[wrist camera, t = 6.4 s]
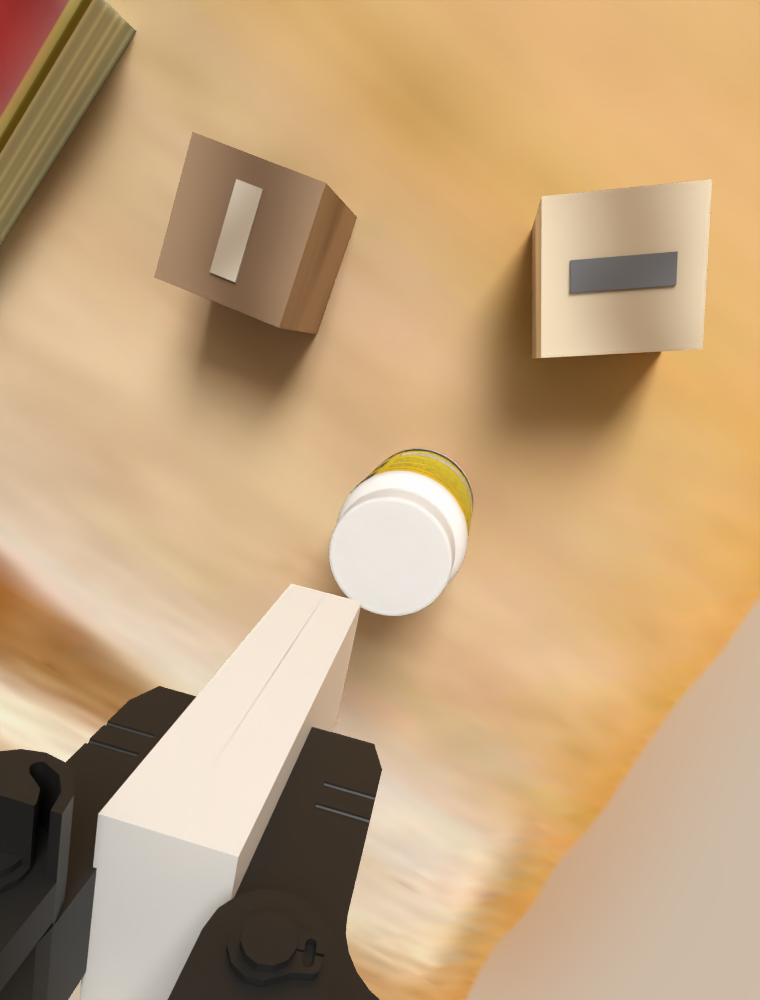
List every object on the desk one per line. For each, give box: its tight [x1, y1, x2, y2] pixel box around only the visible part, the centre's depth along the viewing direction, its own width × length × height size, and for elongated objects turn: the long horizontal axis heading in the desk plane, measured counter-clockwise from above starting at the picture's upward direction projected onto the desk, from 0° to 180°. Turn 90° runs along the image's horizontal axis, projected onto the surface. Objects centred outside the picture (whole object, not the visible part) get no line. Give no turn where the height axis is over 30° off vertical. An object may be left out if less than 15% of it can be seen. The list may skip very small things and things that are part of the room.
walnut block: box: [155, 132, 357, 334], centre depth 24 cm, size 5×5×5 cm
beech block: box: [532, 179, 712, 359], centre depth 22 cm, size 5×5×5 cm
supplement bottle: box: [329, 448, 473, 616], centre depth 23 cm, size 5×5×8 cm
